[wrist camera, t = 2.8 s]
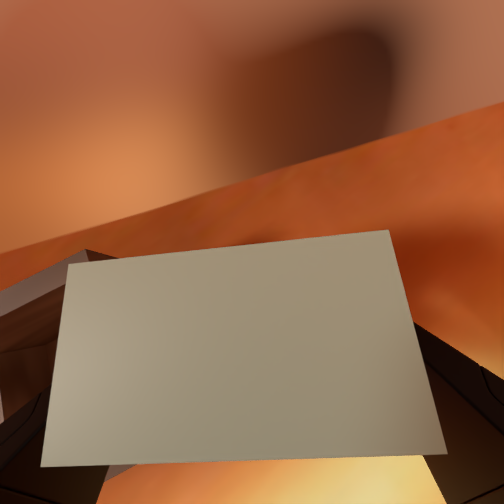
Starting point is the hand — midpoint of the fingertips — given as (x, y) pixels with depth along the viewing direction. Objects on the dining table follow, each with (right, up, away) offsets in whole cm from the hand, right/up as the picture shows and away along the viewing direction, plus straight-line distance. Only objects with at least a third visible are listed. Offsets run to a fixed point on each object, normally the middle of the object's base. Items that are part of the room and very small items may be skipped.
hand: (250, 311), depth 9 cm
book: (+1, -2, +8) cm, 8 cm away
